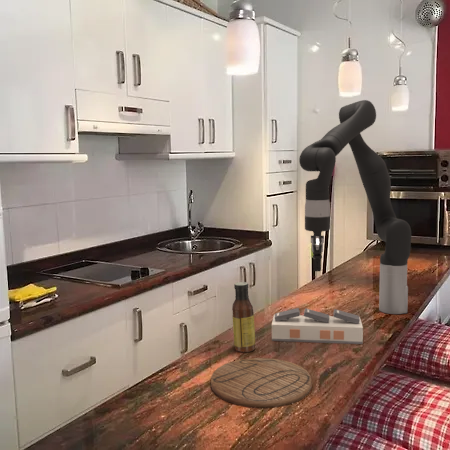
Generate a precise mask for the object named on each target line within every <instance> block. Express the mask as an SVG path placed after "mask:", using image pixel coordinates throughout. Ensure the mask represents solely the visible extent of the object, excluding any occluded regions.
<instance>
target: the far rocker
mask: <svg viewBox="0 0 450 450" xmlns="http://www.w3.org/2000/svg"><path fill="white" fill-rule="evenodd" d="M300 313H301V312H300V308H299V307H296V308H292V309H289V310H284V311H279V312H276V313H274V315H275V321H280V320H285V319H286V320H289V318H293V317H298V316H300V315H301V314H300Z"/></svg>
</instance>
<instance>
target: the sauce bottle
mask: <svg viewBox="0 0 450 450" xmlns="http://www.w3.org/2000/svg"><path fill="white" fill-rule="evenodd" d="M233 288H234V290H235V291H234V292H235V300H234V301H233V303H232V310H231V311H232V327H233V329H232V331H233V345H234V348H235V351H237V352H241V353H250V352H253V351H254V350H255V349H256V333H255V332H256V331H255V314H254V307H253V305H252V303H251V300H250V298H249V282H246V281H239V282H238V281H237V282H235V283H234V287H233Z"/></svg>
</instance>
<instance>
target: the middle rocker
mask: <svg viewBox="0 0 450 450" xmlns="http://www.w3.org/2000/svg"><path fill="white" fill-rule="evenodd" d="M303 315H304V316H305V317H308V318H312V319H314V320H315V321H317V320H319V321H322V322H326V323H328V322H329V316H330V314H328V313H327V314H326V313H324V312H320V311H317V310H313V309H310V308H304V311H303Z"/></svg>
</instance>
